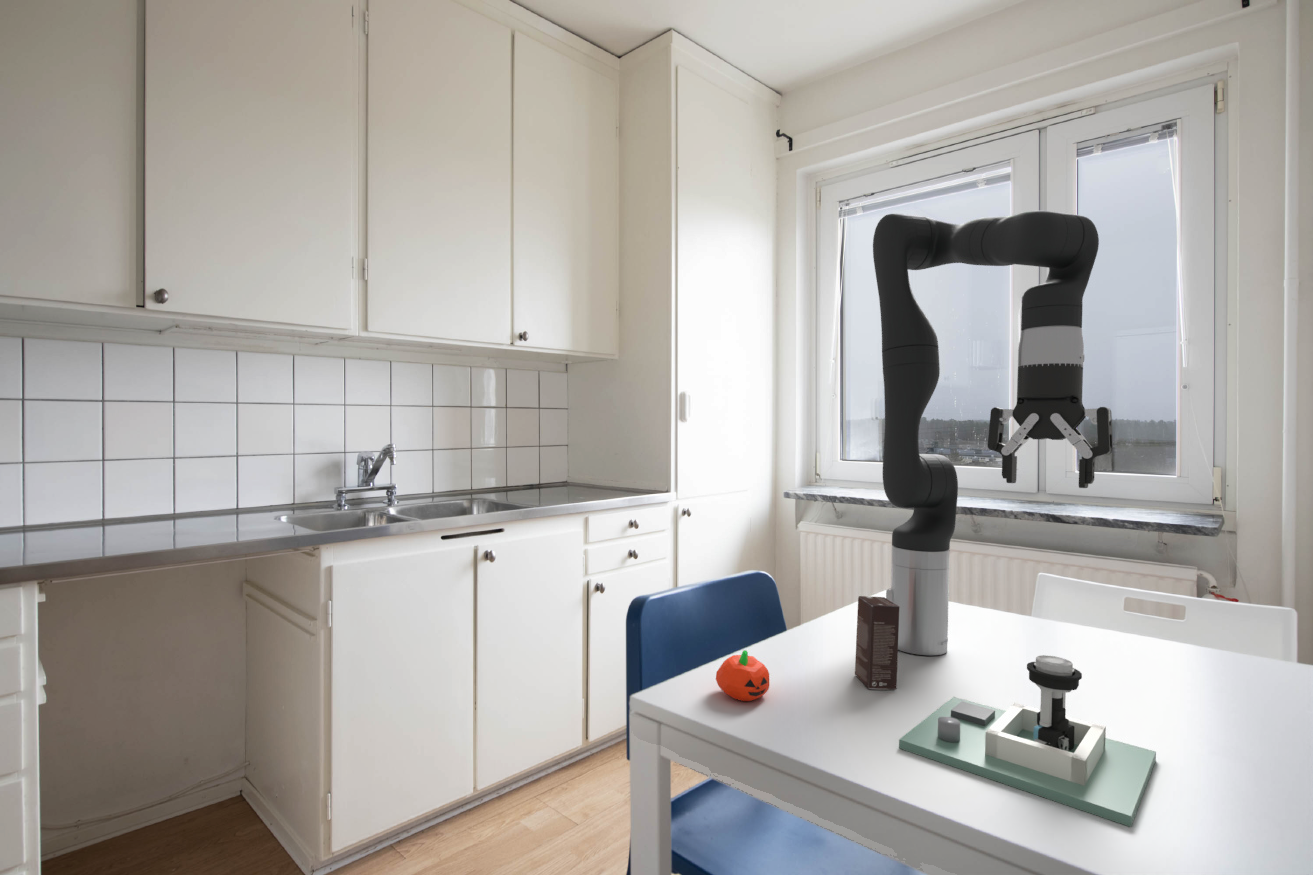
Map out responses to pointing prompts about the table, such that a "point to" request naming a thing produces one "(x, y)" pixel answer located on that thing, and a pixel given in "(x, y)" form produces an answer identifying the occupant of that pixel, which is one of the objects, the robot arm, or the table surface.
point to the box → (877, 642)
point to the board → (1036, 757)
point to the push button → (1054, 700)
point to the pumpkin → (743, 677)
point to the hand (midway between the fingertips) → (1046, 485)
